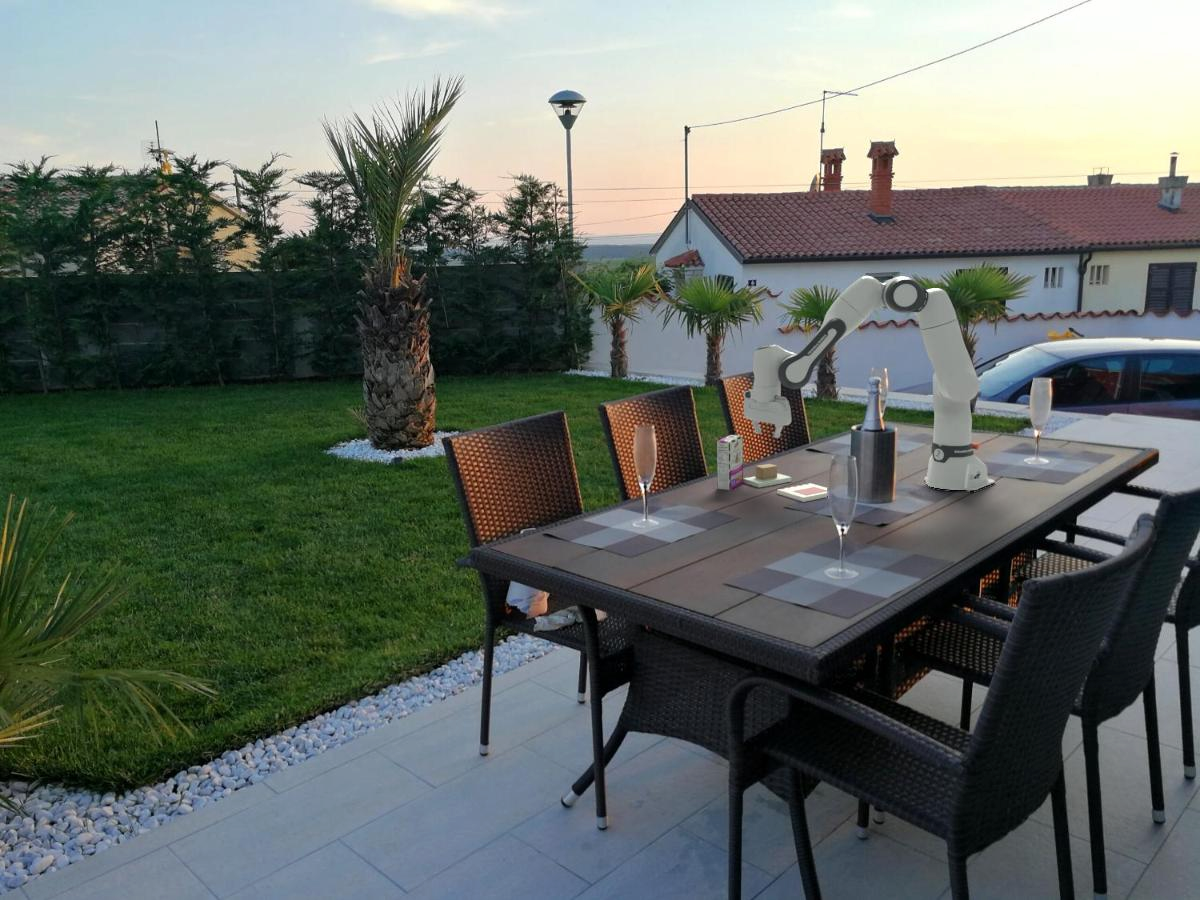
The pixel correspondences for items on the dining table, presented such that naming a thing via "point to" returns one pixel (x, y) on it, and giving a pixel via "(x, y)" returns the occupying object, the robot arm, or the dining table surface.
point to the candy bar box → (730, 462)
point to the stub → (766, 476)
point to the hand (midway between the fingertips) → (767, 435)
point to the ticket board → (804, 492)
